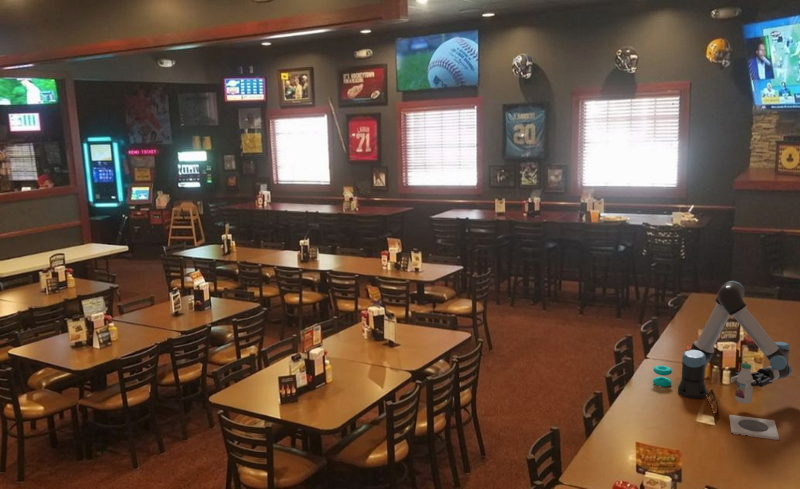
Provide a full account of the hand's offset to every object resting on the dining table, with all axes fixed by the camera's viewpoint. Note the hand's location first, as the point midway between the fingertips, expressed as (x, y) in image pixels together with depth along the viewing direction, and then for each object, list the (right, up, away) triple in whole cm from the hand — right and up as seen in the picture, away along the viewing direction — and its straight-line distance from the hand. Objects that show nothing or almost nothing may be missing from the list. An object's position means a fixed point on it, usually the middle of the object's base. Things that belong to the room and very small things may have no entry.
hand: (738, 382), depth 337 cm
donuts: (-22, -10, +42) cm, 49 cm away
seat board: (-1, -19, -15) cm, 24 cm away
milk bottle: (+5, -11, +4) cm, 12 cm away
